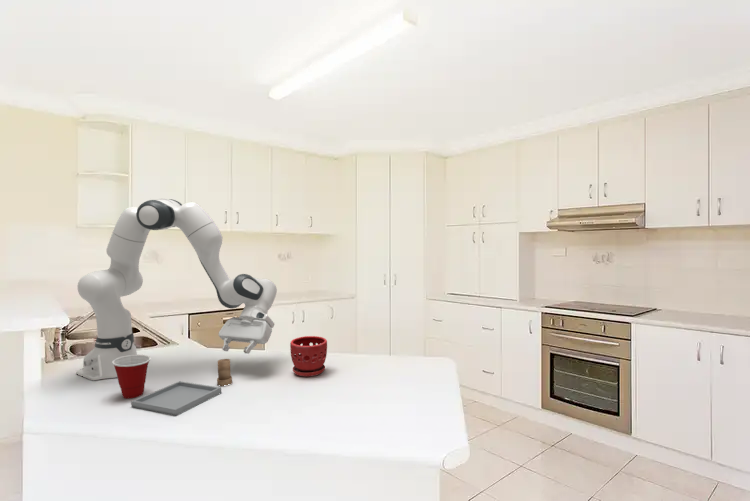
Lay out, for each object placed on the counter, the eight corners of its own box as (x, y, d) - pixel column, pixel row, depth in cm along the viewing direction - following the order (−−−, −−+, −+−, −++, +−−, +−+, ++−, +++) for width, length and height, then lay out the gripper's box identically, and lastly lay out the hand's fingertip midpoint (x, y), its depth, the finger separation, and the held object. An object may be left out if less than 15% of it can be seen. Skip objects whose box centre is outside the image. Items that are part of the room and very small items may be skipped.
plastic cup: (136, 403, 133) (133, 364, 132) (105, 401, 135) (103, 363, 134) (160, 389, 143) (158, 354, 143) (132, 388, 145) (130, 353, 145)
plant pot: (284, 377, 152) (283, 343, 151) (302, 365, 164) (301, 334, 164) (318, 380, 148) (316, 346, 147) (333, 368, 160) (332, 336, 160)
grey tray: (131, 407, 129) (131, 401, 129) (179, 386, 146) (179, 381, 146) (175, 416, 122) (175, 409, 122) (221, 392, 139) (221, 387, 139)
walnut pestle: (214, 385, 146) (213, 362, 146) (224, 380, 150) (223, 358, 150) (225, 387, 144) (224, 363, 144) (235, 382, 149) (234, 359, 148)
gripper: (225, 312, 162) (207, 344, 154) (270, 315, 154) (254, 349, 146) (234, 321, 167) (217, 353, 158) (278, 324, 159) (262, 358, 150)
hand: (235, 351), depth 152 cm, fingers open, 8 cm apart
